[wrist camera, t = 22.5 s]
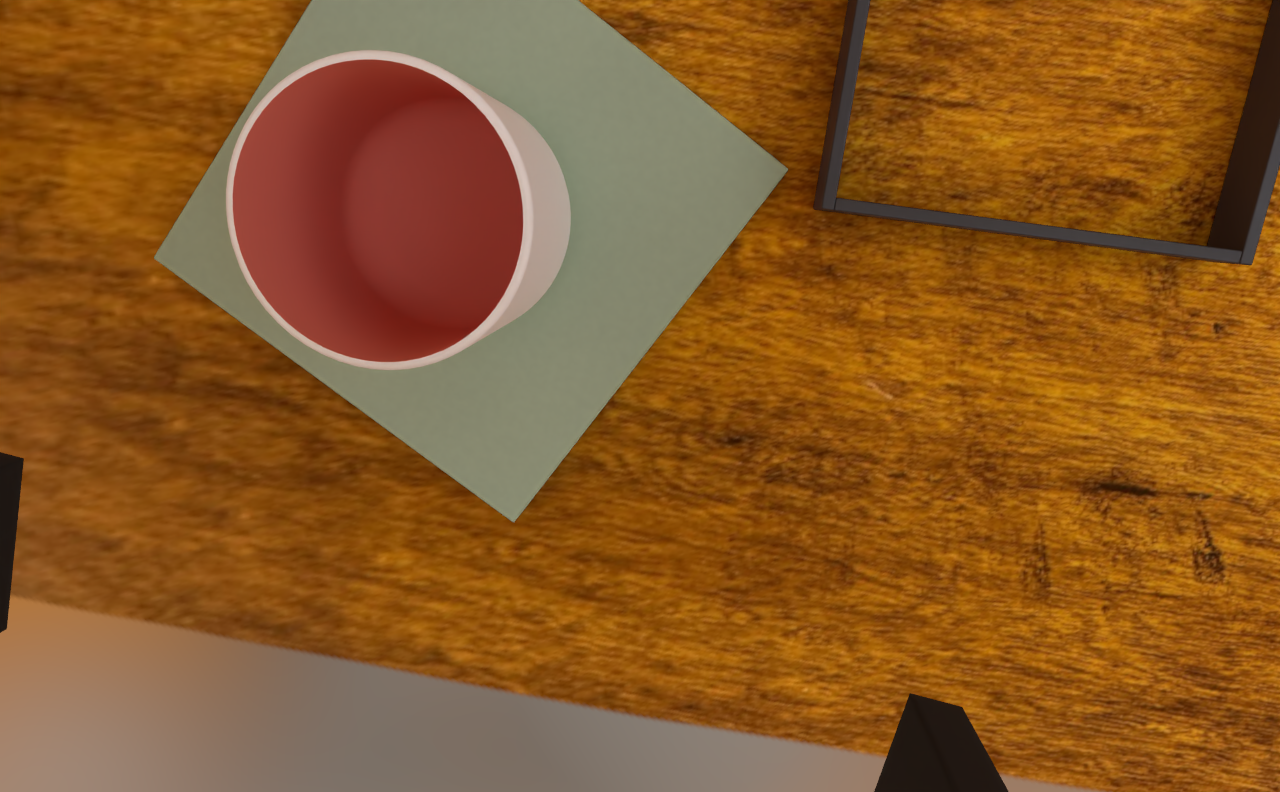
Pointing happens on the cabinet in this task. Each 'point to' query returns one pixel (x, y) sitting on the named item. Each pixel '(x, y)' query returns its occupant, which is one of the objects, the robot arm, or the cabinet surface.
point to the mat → (598, 243)
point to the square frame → (1266, 139)
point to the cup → (393, 210)
